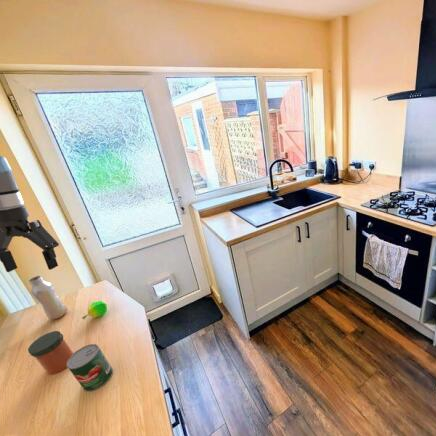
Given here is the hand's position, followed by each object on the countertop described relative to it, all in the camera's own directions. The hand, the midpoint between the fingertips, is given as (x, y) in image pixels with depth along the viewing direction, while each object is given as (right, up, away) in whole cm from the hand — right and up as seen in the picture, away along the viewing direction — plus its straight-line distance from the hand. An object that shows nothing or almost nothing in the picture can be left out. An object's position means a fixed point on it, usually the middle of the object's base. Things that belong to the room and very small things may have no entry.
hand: (33, 268), depth 82 cm
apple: (+4, -25, +22) cm, 33 cm away
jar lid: (+6, -23, -2) cm, 24 cm away
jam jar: (+7, -33, +2) cm, 34 cm away
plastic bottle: (-14, -25, +25) cm, 38 cm away
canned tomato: (+25, -34, -4) cm, 43 cm away
